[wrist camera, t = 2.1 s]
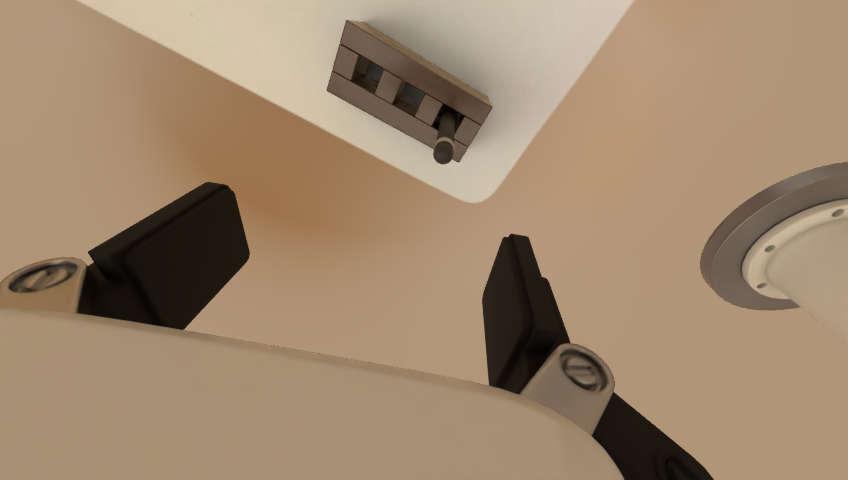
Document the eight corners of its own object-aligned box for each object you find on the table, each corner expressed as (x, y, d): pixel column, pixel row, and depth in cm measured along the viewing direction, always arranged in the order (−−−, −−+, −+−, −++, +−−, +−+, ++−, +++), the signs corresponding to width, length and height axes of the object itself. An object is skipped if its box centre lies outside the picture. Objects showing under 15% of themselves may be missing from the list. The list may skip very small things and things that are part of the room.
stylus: (457, 103, 28) (455, 148, 17) (454, 117, 29) (451, 168, 18) (443, 101, 28) (433, 145, 17) (441, 115, 29) (431, 166, 18)
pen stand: (362, 21, 25) (346, 19, 21) (488, 97, 27) (492, 107, 24) (343, 83, 28) (326, 90, 24) (459, 147, 30) (458, 163, 26)
